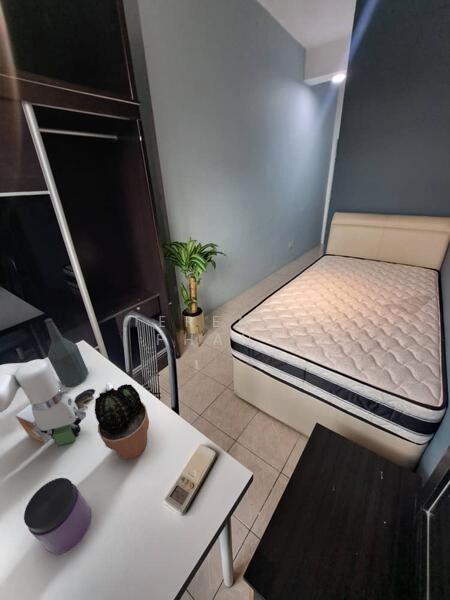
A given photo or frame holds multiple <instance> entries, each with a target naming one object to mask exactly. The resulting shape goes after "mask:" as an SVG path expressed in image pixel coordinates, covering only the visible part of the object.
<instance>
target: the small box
mask: <svg viewBox="0 0 450 600" xmlns="http://www.w3.org/2000/svg"><path fill="white" fill-rule="evenodd" d="M15 418H16V419H17V420H18V422H19V424H20V425H21V427H22V428H23V430H24V431H25V433H26V434H27V436H28V437H31V438H34V439H35V440H38V441H40V442H42V443H44V444H45V443H47V442H48V441H49V440H50V439H52V437H51V435H50V436H49V435H47V433H42V432H41V431H40V432H39V431H33V428H34V426H35V424H36V422H35V419H34V416H33V412H32V404H31V403H29V404H28V405H26V407H25V408H23V409H22V410H21V411H20V412H18V413H17V414H16V415H15Z"/></svg>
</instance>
